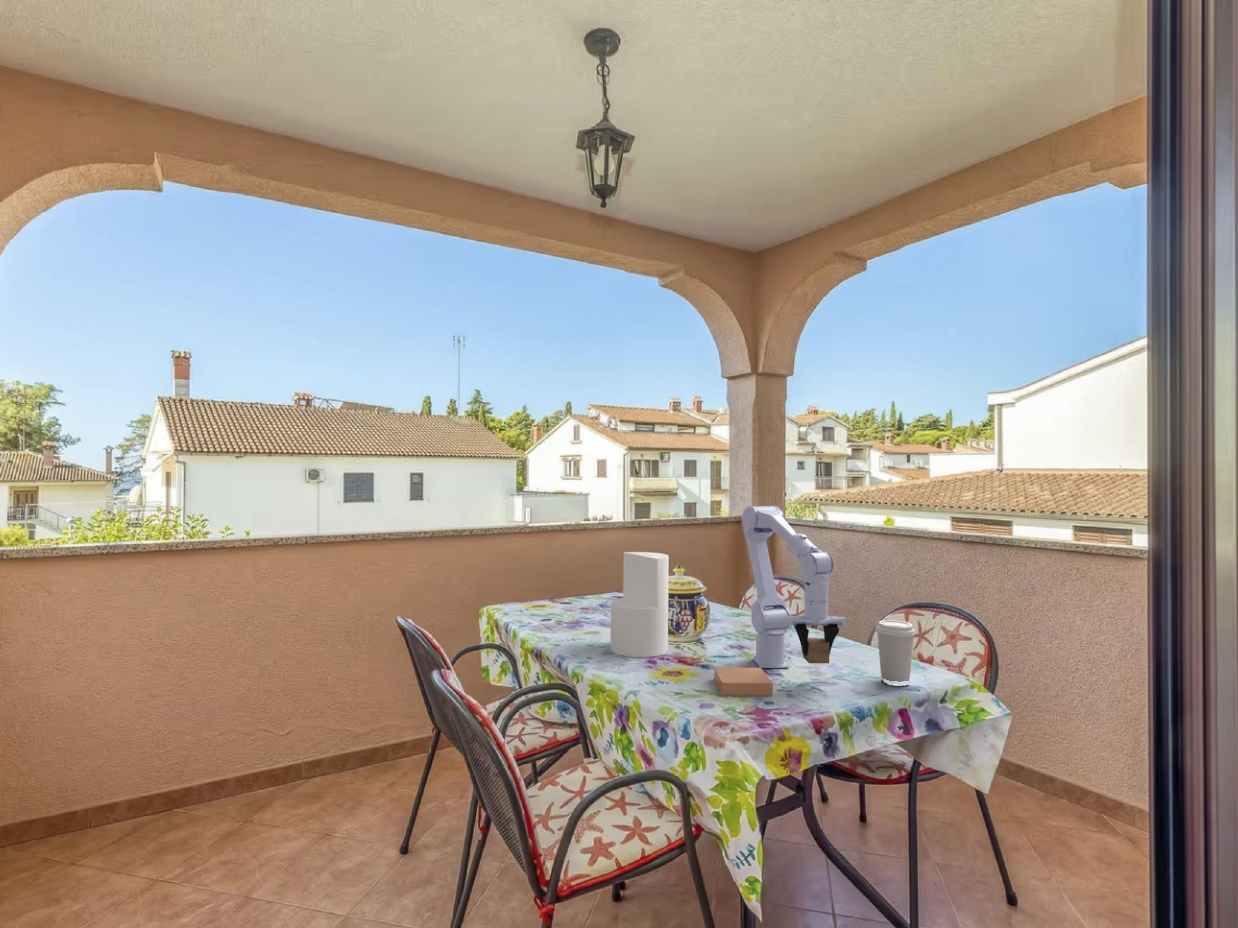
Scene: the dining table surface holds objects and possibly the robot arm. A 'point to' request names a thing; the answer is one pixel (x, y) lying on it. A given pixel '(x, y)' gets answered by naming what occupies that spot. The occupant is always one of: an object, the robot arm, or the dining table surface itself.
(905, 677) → the coffee cup
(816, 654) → the walnut block
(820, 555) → the robot arm
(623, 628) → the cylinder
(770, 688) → the terracotta plinth
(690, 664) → the dining table surface
